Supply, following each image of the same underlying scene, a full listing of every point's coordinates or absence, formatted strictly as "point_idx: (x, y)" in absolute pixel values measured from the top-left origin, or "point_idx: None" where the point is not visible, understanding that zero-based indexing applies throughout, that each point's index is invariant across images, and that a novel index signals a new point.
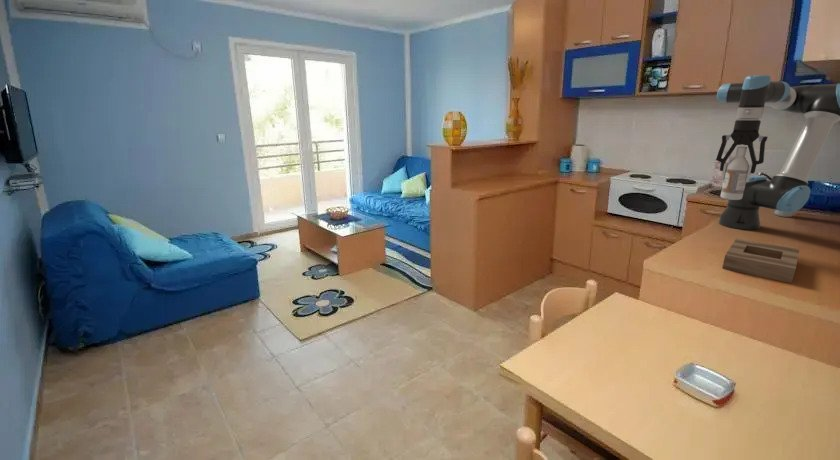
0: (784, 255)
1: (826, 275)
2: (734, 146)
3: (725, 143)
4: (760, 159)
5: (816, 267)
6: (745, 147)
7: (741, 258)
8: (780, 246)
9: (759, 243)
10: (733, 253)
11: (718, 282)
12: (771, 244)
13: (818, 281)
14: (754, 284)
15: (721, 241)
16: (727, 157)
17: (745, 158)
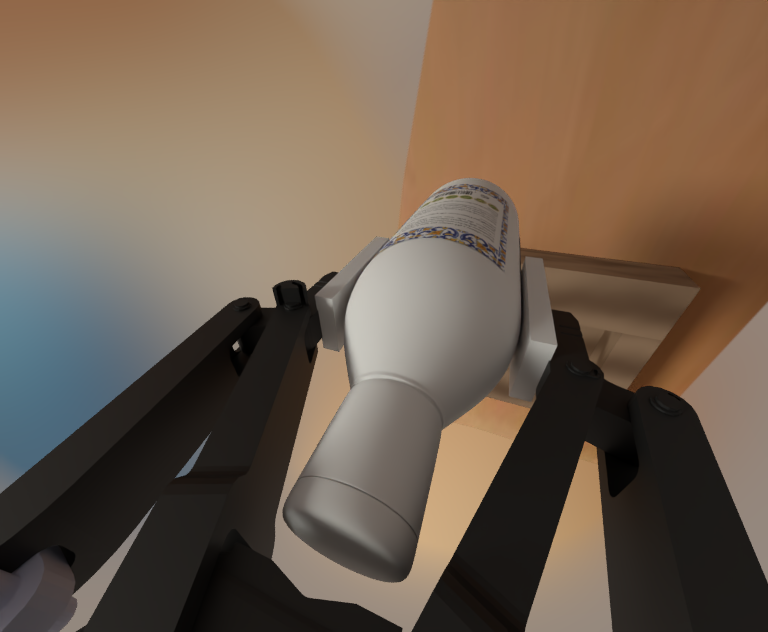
0: (611, 361)
1: (718, 337)
2: (265, 539)
3: (134, 524)
4: (617, 485)
5: (732, 284)
6: (391, 581)
7: (504, 400)
8: (639, 285)
9: (575, 284)
10: None
11: (471, 423)
12: (614, 276)
13: (663, 378)
14: (522, 418)
15: (488, 157)
16: (305, 386)
17: (456, 416)
